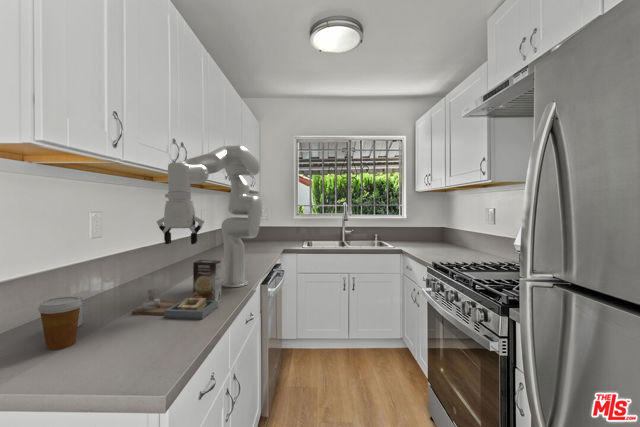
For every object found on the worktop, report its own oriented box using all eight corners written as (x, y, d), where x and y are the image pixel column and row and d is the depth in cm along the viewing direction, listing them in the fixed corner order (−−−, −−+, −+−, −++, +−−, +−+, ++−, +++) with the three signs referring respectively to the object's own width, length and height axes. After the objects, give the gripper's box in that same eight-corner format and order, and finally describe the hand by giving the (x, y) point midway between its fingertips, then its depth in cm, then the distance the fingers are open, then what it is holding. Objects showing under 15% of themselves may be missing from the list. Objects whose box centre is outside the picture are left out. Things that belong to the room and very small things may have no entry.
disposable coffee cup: (28, 352, 90) (27, 305, 90) (58, 337, 100) (57, 295, 100) (64, 352, 90) (63, 306, 90) (90, 338, 99) (90, 296, 99)
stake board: (154, 302, 136) (154, 283, 135) (184, 303, 134) (184, 284, 134) (131, 314, 122) (131, 292, 121) (164, 315, 120) (164, 293, 120)
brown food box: (192, 304, 133) (191, 262, 133) (199, 300, 140) (199, 259, 139) (215, 305, 132) (215, 262, 132) (222, 300, 139) (221, 260, 138)
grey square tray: (183, 306, 131) (183, 299, 131) (218, 307, 129) (218, 300, 129) (164, 317, 118) (164, 310, 118) (202, 319, 116) (202, 311, 116)
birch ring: (178, 313, 121) (177, 306, 120) (190, 301, 129) (189, 295, 129) (198, 314, 120) (197, 307, 119) (208, 301, 129) (208, 295, 128)
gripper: (151, 197, 125) (152, 245, 126) (198, 196, 124) (199, 245, 125) (162, 197, 133) (163, 242, 134) (206, 196, 132) (207, 242, 133)
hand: (180, 243), depth 129 cm, fingers open, 9 cm apart
